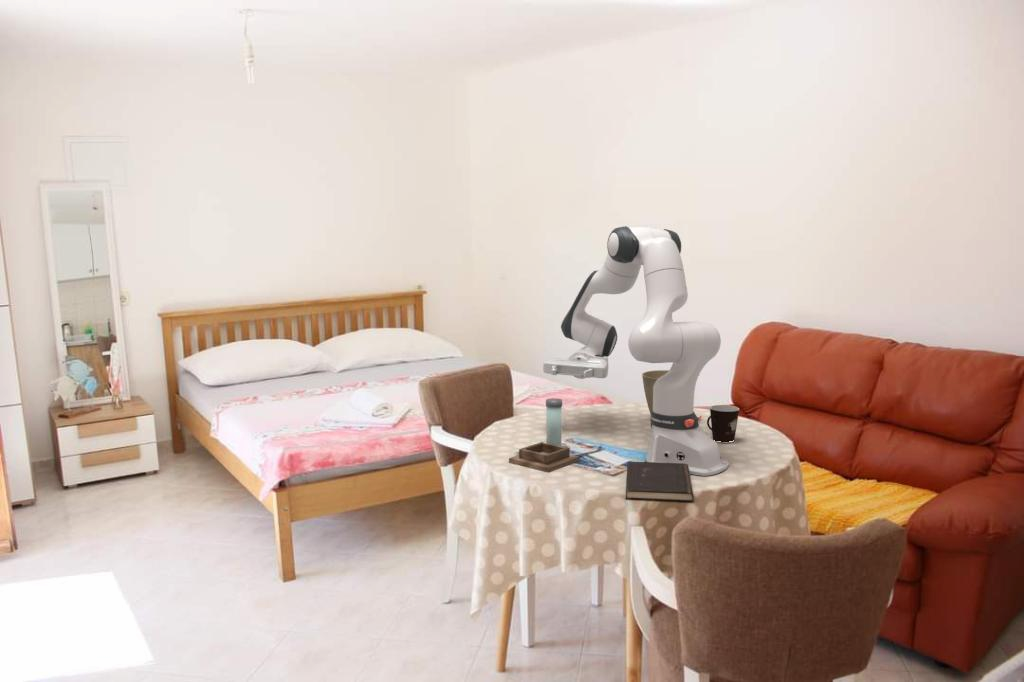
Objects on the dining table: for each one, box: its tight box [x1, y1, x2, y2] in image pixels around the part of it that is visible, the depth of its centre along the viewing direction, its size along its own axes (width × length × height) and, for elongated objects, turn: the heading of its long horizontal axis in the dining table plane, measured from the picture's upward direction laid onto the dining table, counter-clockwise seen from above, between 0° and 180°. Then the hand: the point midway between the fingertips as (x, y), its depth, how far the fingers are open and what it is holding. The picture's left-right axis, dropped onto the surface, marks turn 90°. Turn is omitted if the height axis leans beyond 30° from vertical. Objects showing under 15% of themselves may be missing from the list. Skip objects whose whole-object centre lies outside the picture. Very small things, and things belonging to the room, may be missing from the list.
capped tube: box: [545, 397, 563, 446], centre depth 248 cm, size 5×5×15 cm
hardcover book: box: [625, 461, 694, 503], centre depth 214 cm, size 16×23×2 cm
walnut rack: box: [508, 441, 581, 473], centre depth 236 cm, size 14×14×4 cm
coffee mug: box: [706, 404, 740, 442], centre depth 256 cm, size 12×9×10 cm
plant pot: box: [641, 369, 670, 415], centre depth 279 cm, size 15×15×16 cm
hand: (568, 373), depth 257 cm, fingers open, 8 cm apart
